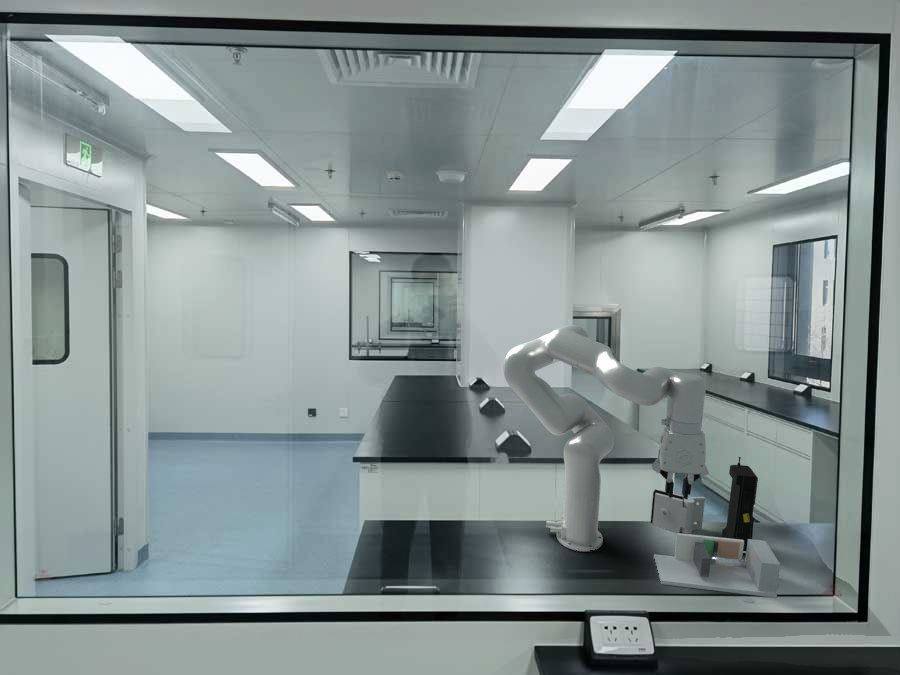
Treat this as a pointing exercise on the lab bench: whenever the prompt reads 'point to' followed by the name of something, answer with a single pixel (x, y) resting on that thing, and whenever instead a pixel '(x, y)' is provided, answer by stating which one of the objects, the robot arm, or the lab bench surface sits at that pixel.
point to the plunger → (712, 559)
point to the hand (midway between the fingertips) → (677, 495)
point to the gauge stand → (749, 580)
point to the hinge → (677, 512)
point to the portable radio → (741, 504)
